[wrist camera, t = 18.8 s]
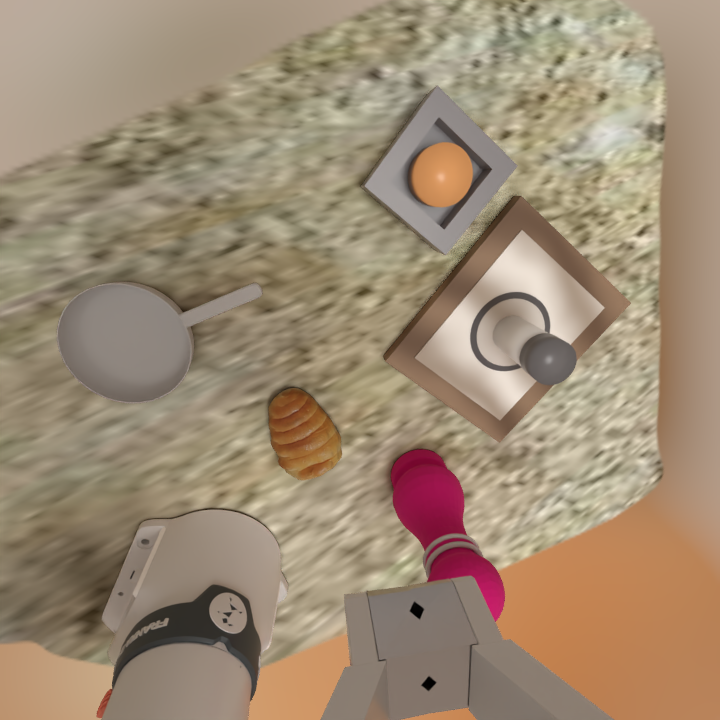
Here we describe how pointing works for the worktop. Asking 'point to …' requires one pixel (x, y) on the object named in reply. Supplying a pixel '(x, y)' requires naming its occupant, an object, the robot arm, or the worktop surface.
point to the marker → (535, 350)
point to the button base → (422, 130)
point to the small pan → (134, 338)
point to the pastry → (303, 435)
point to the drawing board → (493, 303)
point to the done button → (440, 175)
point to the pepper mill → (441, 523)
